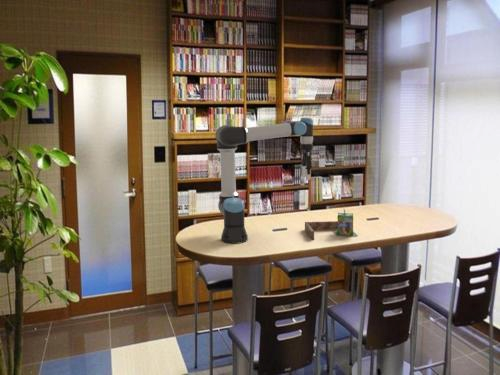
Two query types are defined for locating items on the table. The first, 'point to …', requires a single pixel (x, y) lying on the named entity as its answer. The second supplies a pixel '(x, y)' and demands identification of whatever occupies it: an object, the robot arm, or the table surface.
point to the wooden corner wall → (320, 227)
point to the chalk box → (345, 223)
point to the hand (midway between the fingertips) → (306, 178)
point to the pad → (345, 235)
